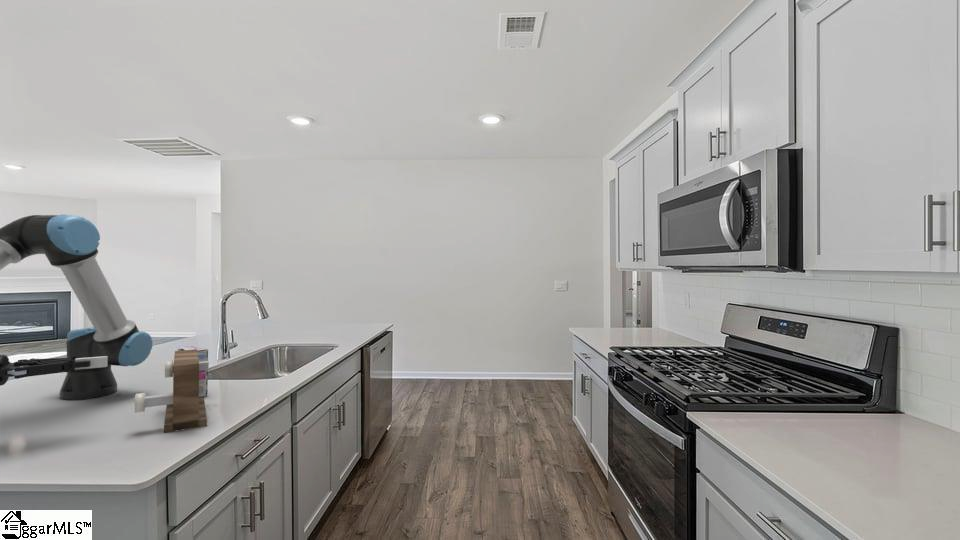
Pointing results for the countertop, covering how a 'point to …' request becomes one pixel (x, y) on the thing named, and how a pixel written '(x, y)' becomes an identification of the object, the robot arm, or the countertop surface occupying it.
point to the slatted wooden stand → (185, 394)
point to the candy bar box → (204, 373)
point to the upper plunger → (169, 364)
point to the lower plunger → (151, 401)
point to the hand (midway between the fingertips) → (106, 361)
